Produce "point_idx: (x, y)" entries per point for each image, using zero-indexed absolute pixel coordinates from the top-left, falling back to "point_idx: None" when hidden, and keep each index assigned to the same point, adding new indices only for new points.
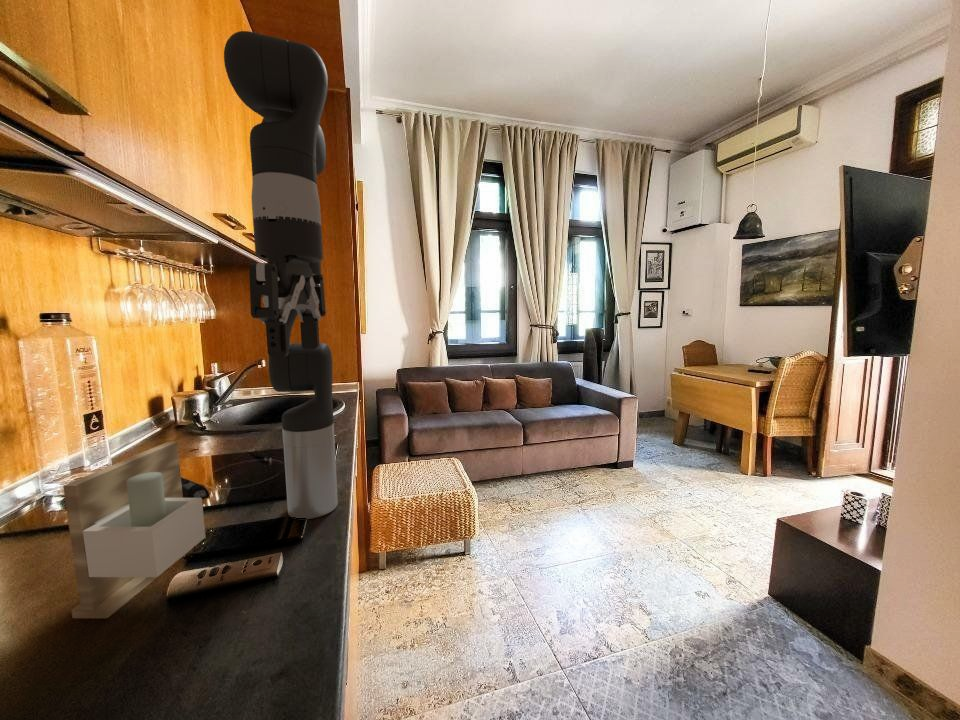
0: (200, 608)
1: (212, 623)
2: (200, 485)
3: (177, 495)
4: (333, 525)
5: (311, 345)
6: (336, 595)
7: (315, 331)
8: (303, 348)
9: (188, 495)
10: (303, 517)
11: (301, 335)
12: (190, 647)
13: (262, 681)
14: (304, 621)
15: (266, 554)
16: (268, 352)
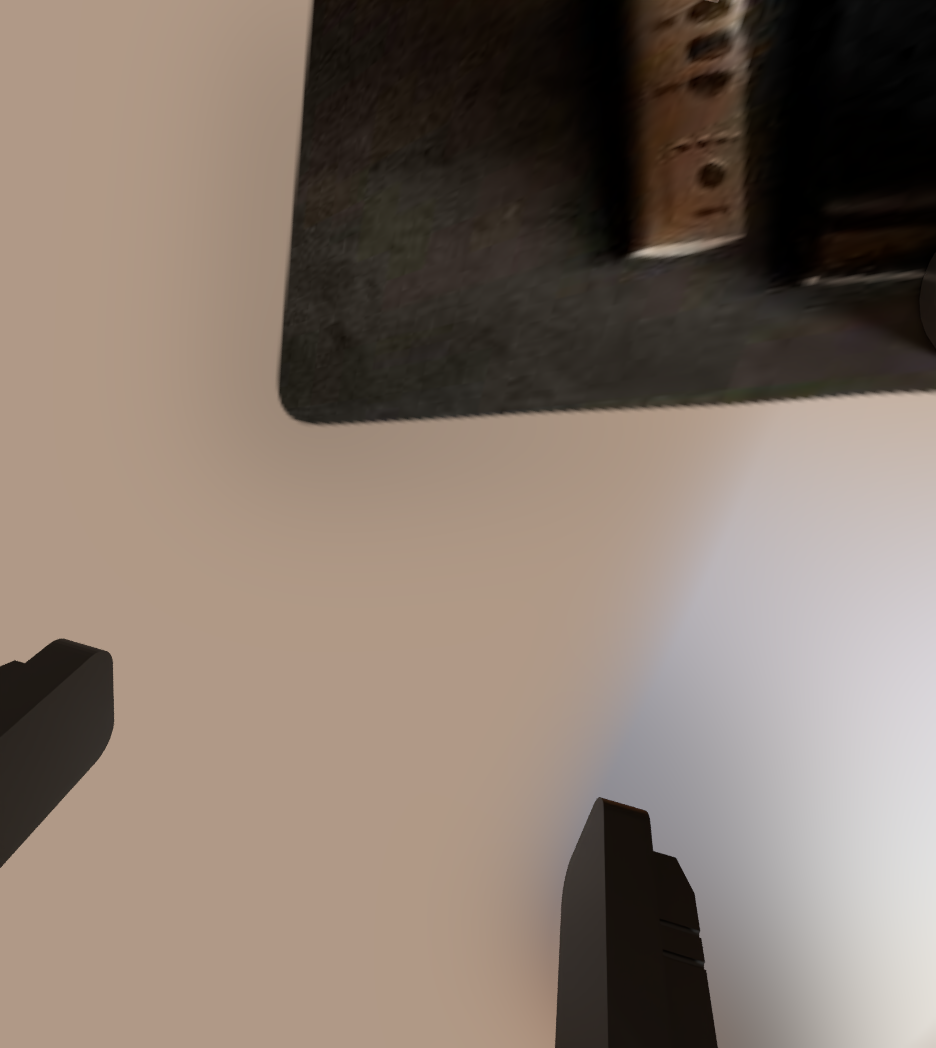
0: (549, 87)
1: (489, 147)
2: None
3: None
4: (840, 371)
5: (575, 871)
6: (513, 410)
7: (561, 1033)
8: (600, 797)
9: None
10: (932, 264)
11: (600, 900)
12: (428, 128)
13: (331, 309)
14: (452, 355)
15: (746, 190)
16: (52, 648)
